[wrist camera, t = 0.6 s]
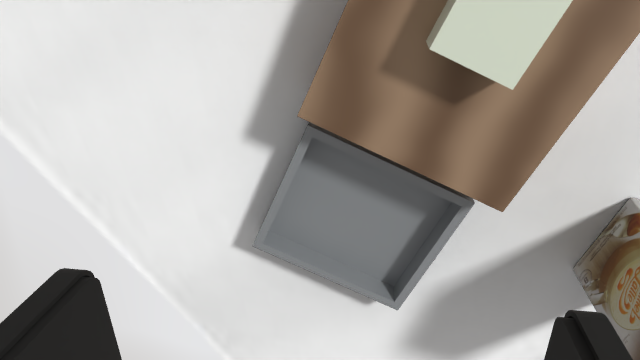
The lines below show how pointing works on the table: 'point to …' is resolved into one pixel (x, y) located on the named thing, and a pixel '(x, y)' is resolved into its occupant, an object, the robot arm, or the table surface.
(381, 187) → the bin
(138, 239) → the table surface
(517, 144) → the brown slab
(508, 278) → the table surface
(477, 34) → the tile
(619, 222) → the coffee box
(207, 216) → the table surface
